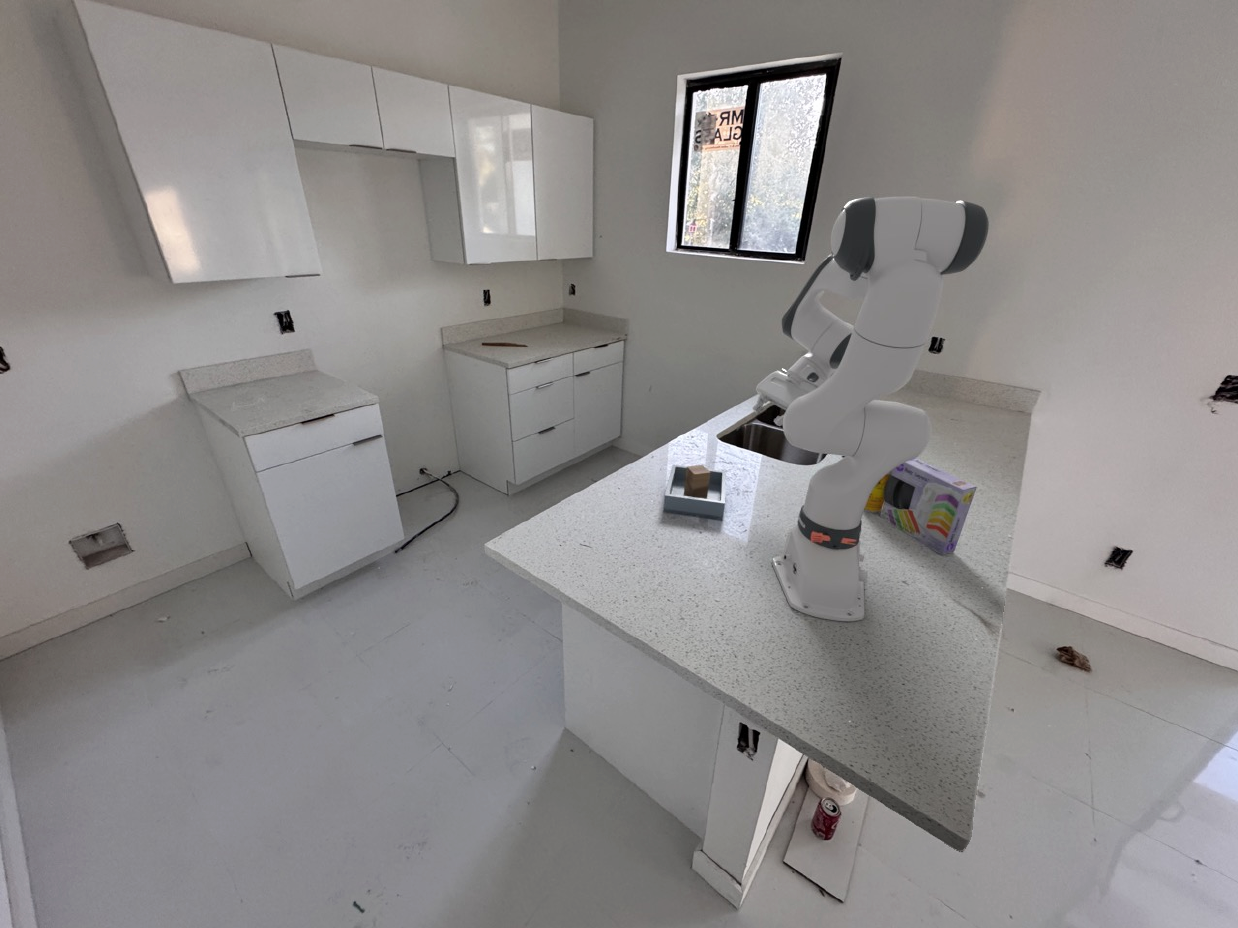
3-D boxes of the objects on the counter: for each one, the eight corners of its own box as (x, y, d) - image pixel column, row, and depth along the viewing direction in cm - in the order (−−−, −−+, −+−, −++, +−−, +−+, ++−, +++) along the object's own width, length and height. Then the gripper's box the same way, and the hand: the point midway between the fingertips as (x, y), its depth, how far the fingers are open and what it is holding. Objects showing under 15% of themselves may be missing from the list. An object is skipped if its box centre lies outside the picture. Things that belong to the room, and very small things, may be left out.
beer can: (855, 509, 132) (870, 459, 125) (857, 499, 137) (871, 450, 130) (880, 516, 130) (897, 464, 123) (881, 505, 134) (897, 456, 128)
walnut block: (706, 498, 132) (710, 472, 129) (691, 501, 131) (694, 474, 127) (699, 490, 136) (702, 464, 132) (683, 492, 135) (686, 466, 131)
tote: (722, 520, 125) (725, 503, 122) (663, 512, 127) (664, 495, 125) (723, 487, 141) (726, 471, 138) (671, 480, 143) (672, 464, 141)
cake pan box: (874, 514, 130) (893, 453, 122) (888, 511, 132) (908, 451, 124) (939, 557, 114) (966, 490, 106) (955, 553, 116) (982, 487, 108)
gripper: (774, 359, 133) (737, 397, 134) (826, 381, 116) (783, 423, 117) (785, 375, 136) (749, 411, 138) (837, 398, 119) (795, 439, 120)
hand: (765, 417), depth 127 cm, fingers open, 8 cm apart
